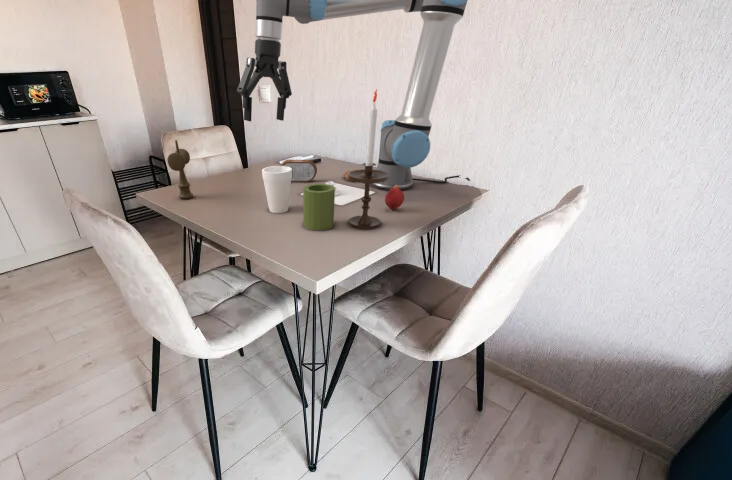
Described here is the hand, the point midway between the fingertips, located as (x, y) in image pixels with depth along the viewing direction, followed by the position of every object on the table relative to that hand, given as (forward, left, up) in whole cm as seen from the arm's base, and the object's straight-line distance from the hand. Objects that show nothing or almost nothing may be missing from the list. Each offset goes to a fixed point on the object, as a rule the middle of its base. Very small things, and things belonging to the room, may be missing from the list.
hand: (264, 120), depth 119 cm
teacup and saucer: (-24, -10, -26) cm, 36 cm away
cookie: (-30, -31, -26) cm, 50 cm away
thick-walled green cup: (-20, +23, -26) cm, 40 cm away
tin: (-7, -25, -26) cm, 36 cm away
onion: (-43, +7, -26) cm, 51 cm away
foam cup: (-6, +10, -26) cm, 29 cm away
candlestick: (-34, +20, -26) cm, 47 cm away
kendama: (+31, 0, -26) cm, 41 cm away
